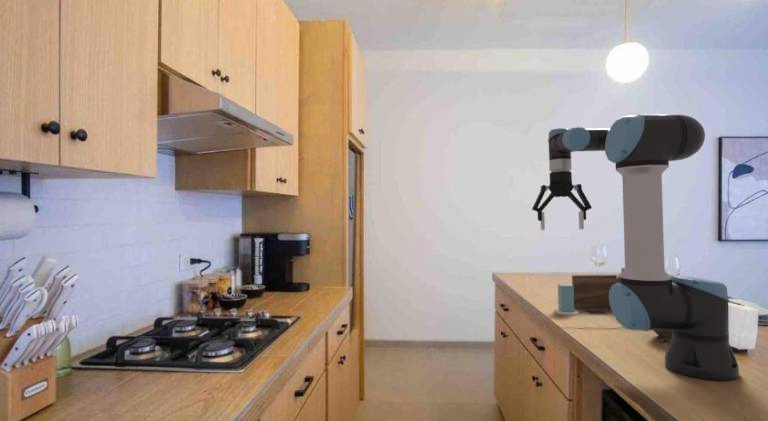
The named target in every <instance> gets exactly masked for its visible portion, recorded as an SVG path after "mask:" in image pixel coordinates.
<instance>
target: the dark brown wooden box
mask: <svg viewBox="0 0 768 421" xmlns="http://www.w3.org/2000/svg"><path fill="white" fill-rule="evenodd" d="M616 276H619V274H571V285H573V286H574V309H575V310H578V309H580V310H582V309H584V310H585V309H587V310H585V312H586V313H587V314H589V315H593V316H594V315H596V316H597V315H599V316H600V315H602V316H603V315H604V316H606V315H607V316H608V315H609V314H608V313H606V312H605V311H603V310H602V309H604V310H605V309H606V310H611V306H610V302H609V291H610V290H611V289H610V288H611V286H612V285H614V284H616V283H619V279H617V278H616ZM588 309H589V310H588ZM592 309H593V310H592ZM595 309H598V310H595Z"/></svg>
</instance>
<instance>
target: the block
mask: <svg viewBox="0 0 768 421" xmlns="http://www.w3.org/2000/svg"><path fill="white" fill-rule="evenodd" d="M557 301H558V302H557V303H558V305H557V306H558V307H557V308H558V309H559V310H560V311H561V312H574V286H573V285H572V283H558V284H557Z"/></svg>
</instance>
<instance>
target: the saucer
mask: <svg viewBox="0 0 768 421" xmlns="http://www.w3.org/2000/svg"><path fill="white" fill-rule="evenodd" d="M553 313H554V314H556V315H560V316H577V315H579V314H580V311H579V310H578V309H574V312H561V311H560V310H559V309H558V307H557V308H555V309H553Z"/></svg>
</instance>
